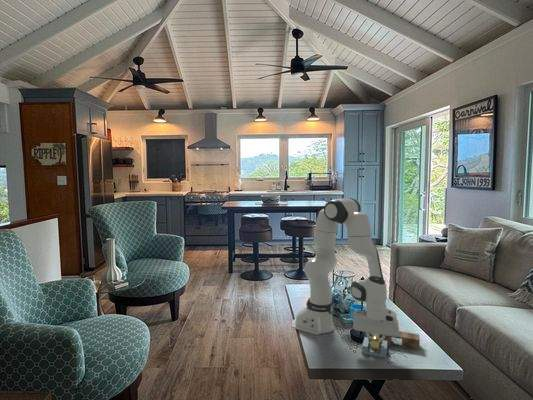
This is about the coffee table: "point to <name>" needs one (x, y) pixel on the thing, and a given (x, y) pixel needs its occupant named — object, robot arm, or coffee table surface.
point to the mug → (354, 308)
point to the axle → (375, 342)
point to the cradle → (381, 351)
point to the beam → (406, 340)
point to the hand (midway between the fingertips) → (375, 341)
